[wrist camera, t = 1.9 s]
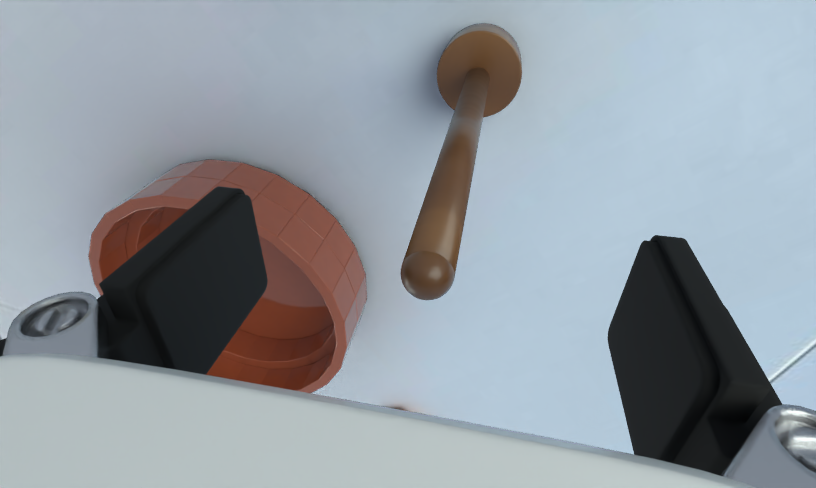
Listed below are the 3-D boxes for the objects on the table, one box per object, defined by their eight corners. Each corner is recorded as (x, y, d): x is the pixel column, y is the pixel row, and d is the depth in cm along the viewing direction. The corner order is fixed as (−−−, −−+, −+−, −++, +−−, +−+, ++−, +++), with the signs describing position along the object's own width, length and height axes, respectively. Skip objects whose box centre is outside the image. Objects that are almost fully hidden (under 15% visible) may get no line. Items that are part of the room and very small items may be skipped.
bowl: (109, 144, 33) (40, 181, 28) (363, 170, 30) (334, 216, 25) (183, 329, 45) (142, 377, 40) (372, 361, 42) (353, 417, 37)
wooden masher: (444, 21, 24) (313, 187, 8) (527, 25, 23) (550, 213, 8) (440, 102, 27) (332, 345, 11) (514, 108, 26) (512, 375, 10)
